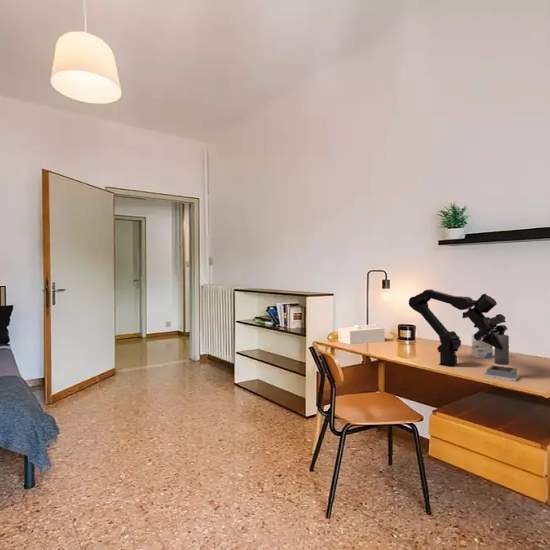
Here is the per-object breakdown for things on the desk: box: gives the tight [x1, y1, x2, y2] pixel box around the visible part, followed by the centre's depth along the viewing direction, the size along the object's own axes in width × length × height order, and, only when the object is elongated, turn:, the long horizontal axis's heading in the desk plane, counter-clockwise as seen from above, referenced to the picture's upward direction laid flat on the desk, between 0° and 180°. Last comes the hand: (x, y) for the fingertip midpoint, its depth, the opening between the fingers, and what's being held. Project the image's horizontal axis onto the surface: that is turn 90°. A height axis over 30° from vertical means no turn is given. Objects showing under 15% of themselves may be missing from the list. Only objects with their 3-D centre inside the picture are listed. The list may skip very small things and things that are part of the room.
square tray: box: [482, 364, 522, 382], centre depth 168 cm, size 12×11×3 cm
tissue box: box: [337, 323, 386, 346], centre depth 252 cm, size 14×25×11 cm, turn 111°
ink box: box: [471, 333, 493, 359], centre depth 204 cm, size 9×5×12 cm, turn 92°
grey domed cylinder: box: [494, 334, 510, 366], centre depth 168 cm, size 5×5×12 cm
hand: (505, 348), depth 167 cm, fingers closed on grey domed cylinder, 5 cm apart
